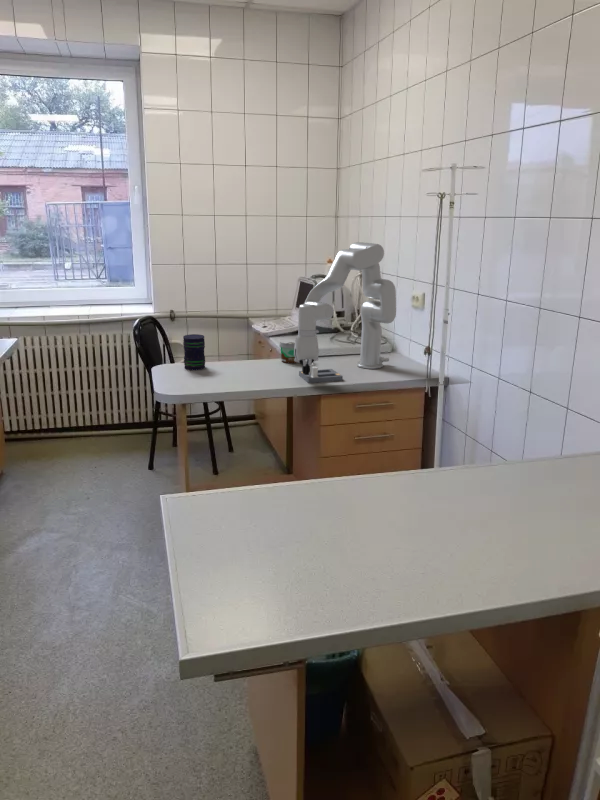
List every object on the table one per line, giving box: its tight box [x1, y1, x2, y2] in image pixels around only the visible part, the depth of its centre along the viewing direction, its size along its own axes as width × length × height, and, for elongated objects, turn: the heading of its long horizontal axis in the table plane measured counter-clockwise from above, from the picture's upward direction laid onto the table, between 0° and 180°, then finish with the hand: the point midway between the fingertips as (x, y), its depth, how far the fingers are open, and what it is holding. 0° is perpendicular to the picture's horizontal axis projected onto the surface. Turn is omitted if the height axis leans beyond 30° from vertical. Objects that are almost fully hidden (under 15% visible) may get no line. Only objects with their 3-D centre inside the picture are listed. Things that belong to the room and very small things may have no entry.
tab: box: [311, 366, 319, 378], centre depth 273 cm, size 3×3×5 cm
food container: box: [278, 341, 299, 364], centre depth 303 cm, size 12×6×10 cm, turn 117°
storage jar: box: [182, 333, 206, 371], centre depth 289 cm, size 10×10×15 cm
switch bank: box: [298, 368, 343, 384], centre depth 278 cm, size 16×13×2 cm
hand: (306, 374), depth 272 cm, fingers closed
